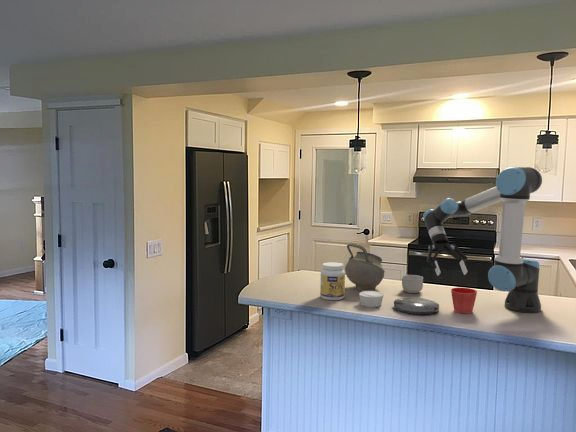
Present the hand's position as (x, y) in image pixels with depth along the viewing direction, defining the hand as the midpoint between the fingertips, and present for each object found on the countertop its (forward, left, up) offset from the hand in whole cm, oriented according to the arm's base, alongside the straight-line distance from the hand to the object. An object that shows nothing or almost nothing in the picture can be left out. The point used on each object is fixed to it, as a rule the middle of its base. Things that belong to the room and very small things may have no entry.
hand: (452, 273), depth 220 cm
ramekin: (+25, +29, -15) cm, 41 cm away
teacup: (+26, -6, -15) cm, 31 cm away
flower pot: (-9, +6, -15) cm, 18 cm away
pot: (+45, +9, -15) cm, 48 cm away
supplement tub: (+45, +34, -15) cm, 58 cm away
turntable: (+7, +19, -15) cm, 25 cm away
